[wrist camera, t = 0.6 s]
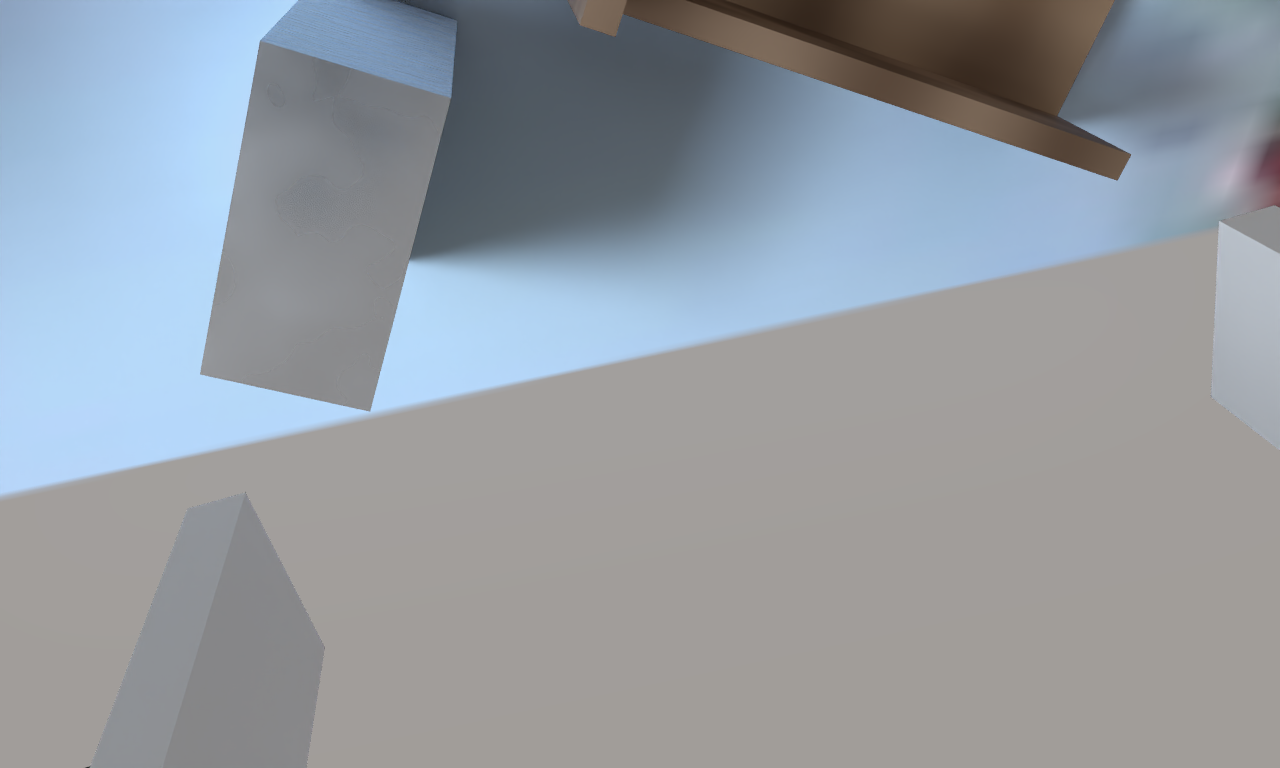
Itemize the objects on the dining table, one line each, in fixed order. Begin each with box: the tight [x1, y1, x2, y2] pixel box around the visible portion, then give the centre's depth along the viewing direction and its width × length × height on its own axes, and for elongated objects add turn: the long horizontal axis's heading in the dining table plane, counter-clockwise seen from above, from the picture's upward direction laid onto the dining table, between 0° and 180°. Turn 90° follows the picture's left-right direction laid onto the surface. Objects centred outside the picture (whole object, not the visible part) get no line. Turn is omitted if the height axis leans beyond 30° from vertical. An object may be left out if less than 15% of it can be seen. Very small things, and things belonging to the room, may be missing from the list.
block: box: [200, 0, 457, 411], centre depth 29 cm, size 4×8×10 cm, turn 161°
